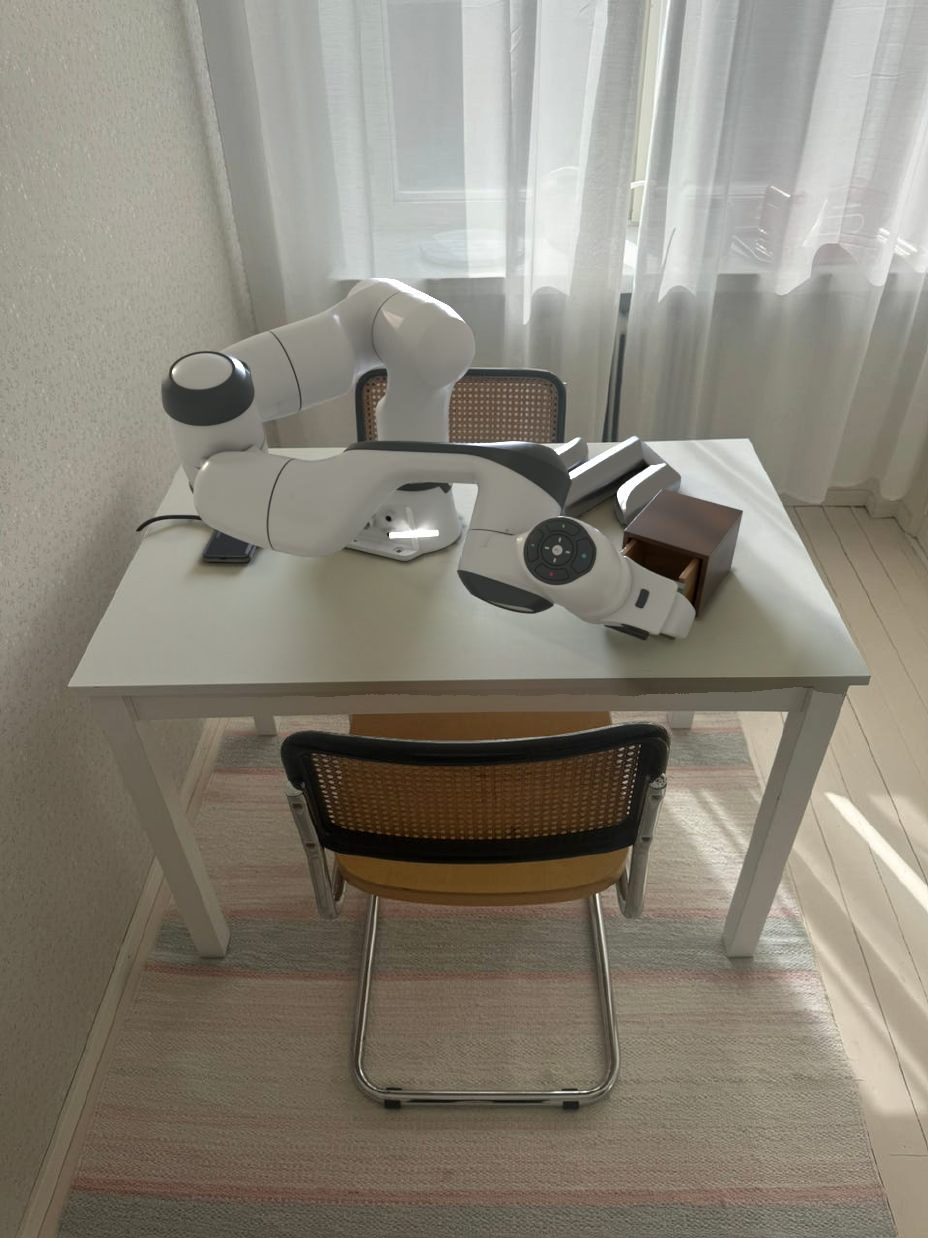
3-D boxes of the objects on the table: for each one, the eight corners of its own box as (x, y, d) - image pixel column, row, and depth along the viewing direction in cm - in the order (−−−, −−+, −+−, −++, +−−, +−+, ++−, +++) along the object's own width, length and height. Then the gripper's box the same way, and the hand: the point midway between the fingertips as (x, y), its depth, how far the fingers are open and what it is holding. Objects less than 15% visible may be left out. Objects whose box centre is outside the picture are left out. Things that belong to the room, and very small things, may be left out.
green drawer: (662, 657, 112) (671, 605, 106) (585, 629, 117) (590, 578, 111) (707, 592, 123) (717, 542, 118) (635, 569, 128) (642, 520, 123)
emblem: (533, 421, 159) (683, 431, 155) (532, 446, 163) (679, 457, 158) (510, 493, 138) (683, 508, 133) (510, 521, 141) (678, 537, 137)
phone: (271, 508, 144) (248, 556, 132) (272, 513, 145) (249, 562, 133) (226, 507, 144) (199, 555, 133) (227, 513, 145) (201, 561, 133)
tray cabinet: (697, 617, 120) (709, 556, 113) (616, 590, 125) (623, 530, 119) (730, 569, 129) (743, 510, 122) (654, 546, 135) (662, 488, 128)
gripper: (510, 582, 102) (545, 605, 114) (669, 639, 93) (689, 656, 105) (529, 534, 102) (562, 562, 114) (690, 586, 93) (707, 610, 105)
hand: (624, 608), depth 110 cm, fingers closed
